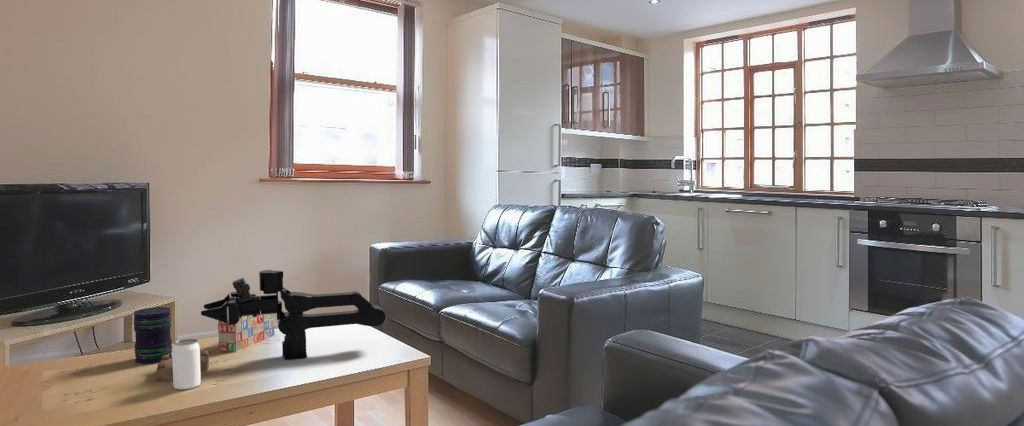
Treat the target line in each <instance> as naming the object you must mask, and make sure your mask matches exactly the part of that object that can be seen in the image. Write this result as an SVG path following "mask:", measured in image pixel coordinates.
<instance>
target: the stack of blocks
mask: <svg viewBox="0 0 1024 426" xmlns="http://www.w3.org/2000/svg"><path fill="white" fill-rule="evenodd" d="M274 315H275V314H265V315H261V311H260V315H257V317H253V316H242V318H240V320H239V321H238V323H237V324H231V325H229V320H228V323H225V322H222V321H219V320H217V322H218V323H217V330H218V331H217V332H218V351H219V350H220V351H219V352H229V351H237V352H239V351H242V350H244V349H246V347H247V348H249V347H251V346H253V345H255V344H257V343H259V342H261V341H264V340H266V339H268V338H270V337H273V336H275V316H274ZM256 342H257V343H256ZM254 343H255V344H254ZM252 344H253V345H252ZM250 345H251V346H250ZM248 346H249V347H248ZM241 349H242V350H241ZM238 350H239V351H238Z"/></svg>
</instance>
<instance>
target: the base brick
mask: <svg viewBox="0 0 1024 426" xmlns="http://www.w3.org/2000/svg"><path fill="white" fill-rule="evenodd" d="M156 365H157V367H156V382H165V381H173V362H172V358H169V355H163V356H162V360H161V362H160V363H156ZM209 367H210V354H209V350H208V351H207V350H204V351H203V350H202V351H200V374H201V377H202V378H203V377H204V378H205V377H207V376H208V371H209Z"/></svg>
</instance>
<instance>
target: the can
mask: <svg viewBox="0 0 1024 426" xmlns="http://www.w3.org/2000/svg"><path fill="white" fill-rule="evenodd" d="M200 347H201V346H200V344H199V342H198V339H196V338H186V339H185V338H184V339H179V340H175V341H174V342H173V345H172V353H171V354H172V362H173V380H172V382H173V383H172V384H173V389H175V390H177V391H187V390H193V389H195V388H197V387H199V386H200V385H201V384H202V383H201V379H202V378H201V374H200V355H201V350H200V349H201V348H200Z"/></svg>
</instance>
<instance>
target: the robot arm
mask: <svg viewBox="0 0 1024 426" xmlns="http://www.w3.org/2000/svg"><path fill="white" fill-rule="evenodd" d="M258 273H259V276H258V277H259V279H258V280H259V291H261V292H263V294H264V295H257V294H255V293H251V287H250V285H249V283H247V282H246V279H245V277H241V278H238V279H236V280H234V281H232V286H233V288H234V290H236V291H231V292H230V293H227V295H226V296H225V297H224V298H222V299H219V300H215V301H212V302H209V303H206V304H203V308H204V309H203V310H201V311H200V316H203V317H207V318H210V319H213V320H216V321H218V320H219V321H222V322H225V323H228V320H229V325H231V324H237V323H238V321H239V320H240V318H242V316H253V317H257V315H260V311H261V315H265V314H274V315H276V320H277V327H278V330H279V332H281V333H282V334H283V335H284V336H283V340H282V343H281V344H282V345H281V346H282V347H281V348H282V350H281V351H282V357H283V358H284V360H295V359H304V358H308V355H307V354H308V353H307V335H306V333H307V332H306V330H308V329H316V328H323V327H324V328H325V327H336V326H348V325H359V326H365V327H379V326H382V325H383V324H384V322H385V320H386V313H385V312H384V310H383V309H382V308H381V307H380V306H379V305H377V304H372V303H371V302H370V301H369V300H368V299H366V297H364V296H362V294H361V293H360V292H359V291H357V290H354V291H350V292H349V291H348V292H334V293H333V292H332V293H323V294H322V293H321V294H320V293H319V294H313V293H308V292H300V291H299V292H298V291H290V290H288V289H287V288H286V287H284V271H283V270H272V269H265V270H260V271H258ZM279 292H280V294H279ZM279 295H280V299H281V300H279ZM283 305H284V309H285V310H286V311H283ZM344 306H345V307H347V306H348V307H349V306H354V307H355V308H356V310H355V309H354V310H347V311H338V312H337V311H334V312H324V313H323V312H322V313H312V314H311V313H310V314H309V313H305V312H308V311H310V310H311V311H312V310H313V309H317V308H318V309H319V308H321V309H322V308H332V307H333V308H334V307H344Z"/></svg>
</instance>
